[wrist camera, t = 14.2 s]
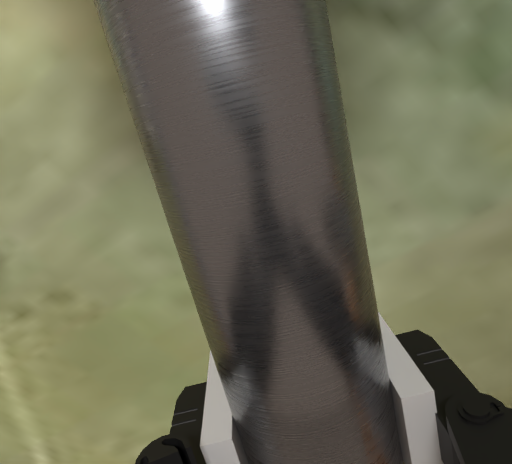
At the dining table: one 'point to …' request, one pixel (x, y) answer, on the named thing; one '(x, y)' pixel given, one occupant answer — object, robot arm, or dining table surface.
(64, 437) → the dining table surface
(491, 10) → the dining table surface
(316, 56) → the axle
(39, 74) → the dining table surface
